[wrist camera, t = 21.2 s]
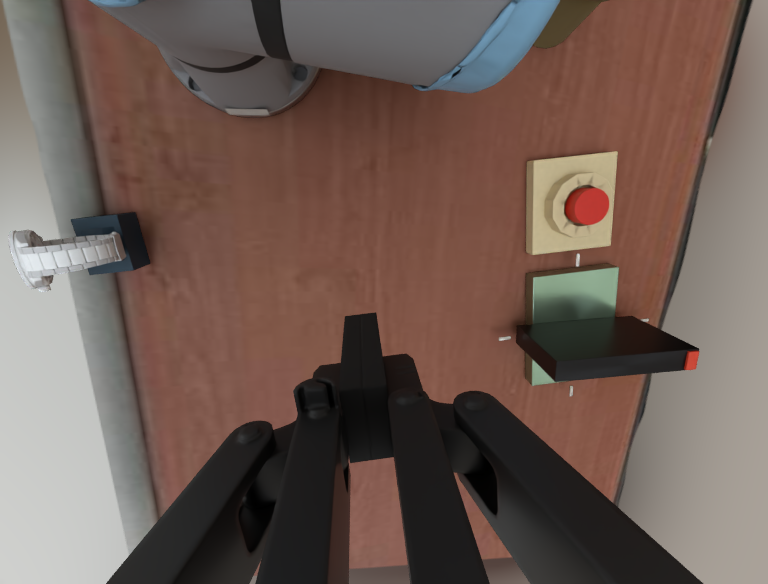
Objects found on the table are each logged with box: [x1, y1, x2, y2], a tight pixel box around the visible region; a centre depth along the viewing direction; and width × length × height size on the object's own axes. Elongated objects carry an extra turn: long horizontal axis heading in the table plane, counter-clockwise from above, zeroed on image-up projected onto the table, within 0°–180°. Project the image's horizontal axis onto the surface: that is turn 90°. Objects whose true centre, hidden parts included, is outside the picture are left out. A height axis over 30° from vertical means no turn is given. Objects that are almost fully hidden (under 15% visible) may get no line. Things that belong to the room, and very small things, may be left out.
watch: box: [9, 212, 150, 292], centre depth 34 cm, size 6×8×11 cm
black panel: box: [516, 316, 699, 382], centre depth 39 cm, size 14×2×9 cm, turn 93°
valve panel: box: [499, 254, 649, 396], centre depth 44 cm, size 18×18×2 cm
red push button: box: [565, 188, 609, 225], centre depth 37 cm, size 4×4×2 cm
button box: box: [526, 151, 618, 255], centre depth 40 cm, size 10×9×4 cm
